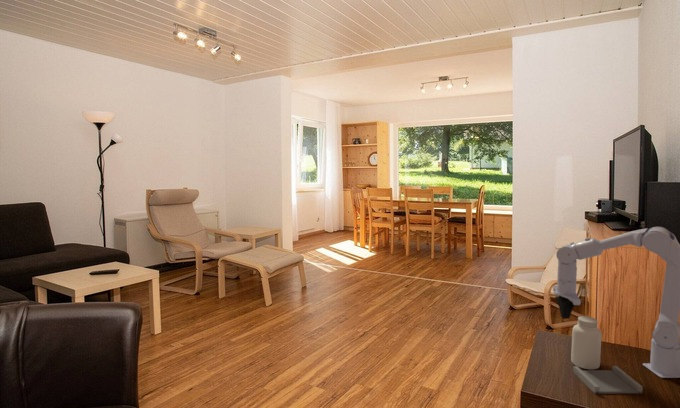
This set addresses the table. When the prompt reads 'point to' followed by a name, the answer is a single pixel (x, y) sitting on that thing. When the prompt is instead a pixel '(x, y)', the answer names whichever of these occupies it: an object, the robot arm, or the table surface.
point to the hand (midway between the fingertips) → (565, 317)
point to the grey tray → (608, 381)
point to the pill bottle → (586, 343)
